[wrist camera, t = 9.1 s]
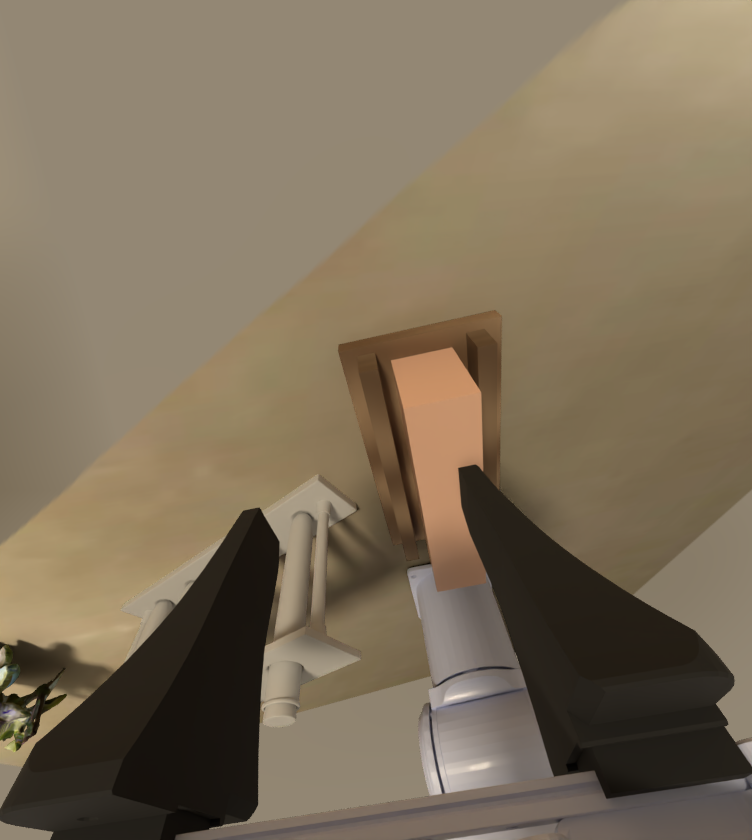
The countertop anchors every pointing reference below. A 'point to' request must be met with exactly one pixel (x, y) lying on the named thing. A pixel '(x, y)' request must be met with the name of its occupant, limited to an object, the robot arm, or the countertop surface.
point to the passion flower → (21, 703)
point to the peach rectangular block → (442, 457)
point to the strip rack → (382, 414)
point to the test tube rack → (293, 640)
